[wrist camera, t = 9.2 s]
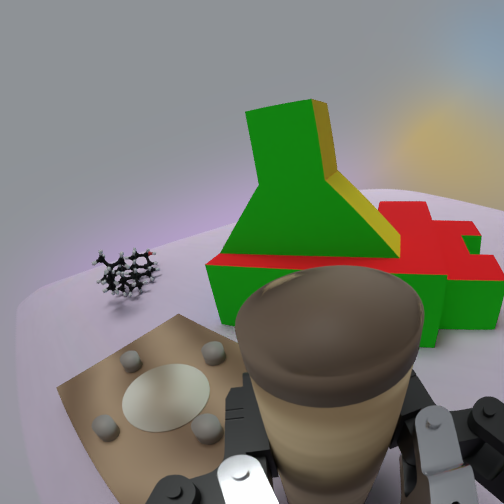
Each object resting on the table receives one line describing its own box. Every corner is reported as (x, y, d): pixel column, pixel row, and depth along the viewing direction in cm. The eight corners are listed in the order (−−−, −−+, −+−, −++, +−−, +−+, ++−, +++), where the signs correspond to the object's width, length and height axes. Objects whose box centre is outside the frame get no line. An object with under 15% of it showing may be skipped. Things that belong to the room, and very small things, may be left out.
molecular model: (135, 286, 45) (138, 246, 45) (167, 292, 44) (171, 251, 44) (78, 301, 29) (80, 246, 29) (118, 312, 29) (121, 253, 29)
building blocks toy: (498, 350, 15) (525, 93, 9) (222, 326, 27) (173, 128, 21) (465, 252, 30) (462, 106, 24) (291, 248, 42) (270, 120, 36)
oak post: (318, 452, 13) (302, 257, 9) (381, 478, 10) (439, 279, 6) (271, 504, 10) (196, 332, 6) (337, 539, 8) (381, 412, 3)
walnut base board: (183, 327, 28) (175, 305, 27) (327, 396, 17) (326, 369, 16) (65, 400, 19) (50, 379, 18) (164, 547, 8) (140, 536, 7)
